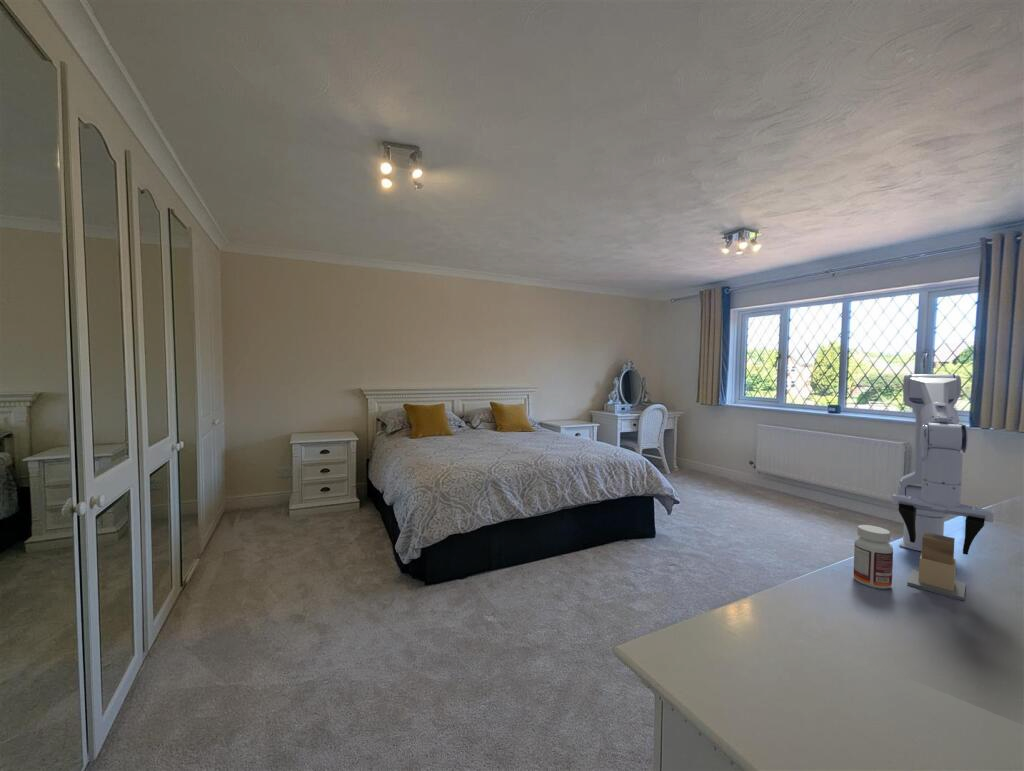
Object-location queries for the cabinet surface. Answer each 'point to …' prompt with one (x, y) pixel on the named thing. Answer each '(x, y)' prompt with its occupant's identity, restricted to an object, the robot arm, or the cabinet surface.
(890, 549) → the pill bottle
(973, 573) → the cabinet surface
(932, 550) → the walnut block
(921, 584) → the tower base
